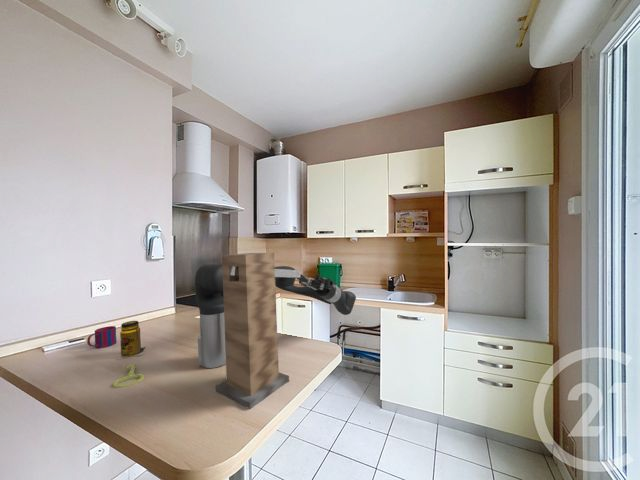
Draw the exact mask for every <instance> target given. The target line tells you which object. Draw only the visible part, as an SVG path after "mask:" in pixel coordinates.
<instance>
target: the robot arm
mask: <svg viewBox="0 0 640 480" xmlns="http://www.w3.org/2000/svg"><path fill="white" fill-rule="evenodd" d="M275 269H285V270H296V269H295V268H294V267H292V266H288V265H287V266H286V265H281V266H280V265H279V266H275ZM296 279H297V280H298V284H300V285H302V286H298V285H297V286H296V285H295V281H296ZM194 288H195V289H194V290H195V301H196V304H197V307H198V310H199V327H200V328H199V331H200V332H199V333H200V334H199V336H198V337H197V349H198V350H197V351H198V354H197V356H198V366H199V367H200V366H201V367H203V368H205V369H214V368H219V367H222V366H226V350H225V323H224V297H223V295H221V292H223V271H222V263H221V264H219V263H218V264H215V263H214V264H210V263H209V264H203V265H201V266H200V267H199V268H198V269H197V271H196V273H195V276H194ZM275 288H277V289H280V290H283V291H285V292H289V293H294V294H296V295H300V296H304V297H308V298H312V299H314V300H317V301H320V302H322V303H325V304H328V305H332V304H333V306H334V308H335V309H336V311H337V312H338V313H340V314H341V315H345V316H348V315H350V314H351V313H352V311H353V308H354V306H355V303H356V300H357V296H356V294H355V293H353V292H352V291H348V290H342V289H341V288H339V287H338V285H337V283H336V282H335V281H333V280H332V279H331V278H326V277H323V276H321V275H320V274H317V273H316V274H315V277H314V278H313V277H306V276H305V275H303V274H301V275H300V278H294V277H275Z"/></svg>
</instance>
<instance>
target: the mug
mask: <svg viewBox="0 0 640 480" xmlns="http://www.w3.org/2000/svg"><path fill="white" fill-rule="evenodd" d="M93 336H94V344H91V338H92V337H93ZM86 341H87V345H88V346H89V347H92V348H95V349H103V348H109V347H112V346H115V345H116V344H117V328H116V326H115V325H112V326H111V325H110V326H108V325H107V326H103V327H99V328H97V329H96V330H94V333H92V334H90V335H89V336H88V337H87V340H86Z"/></svg>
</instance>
